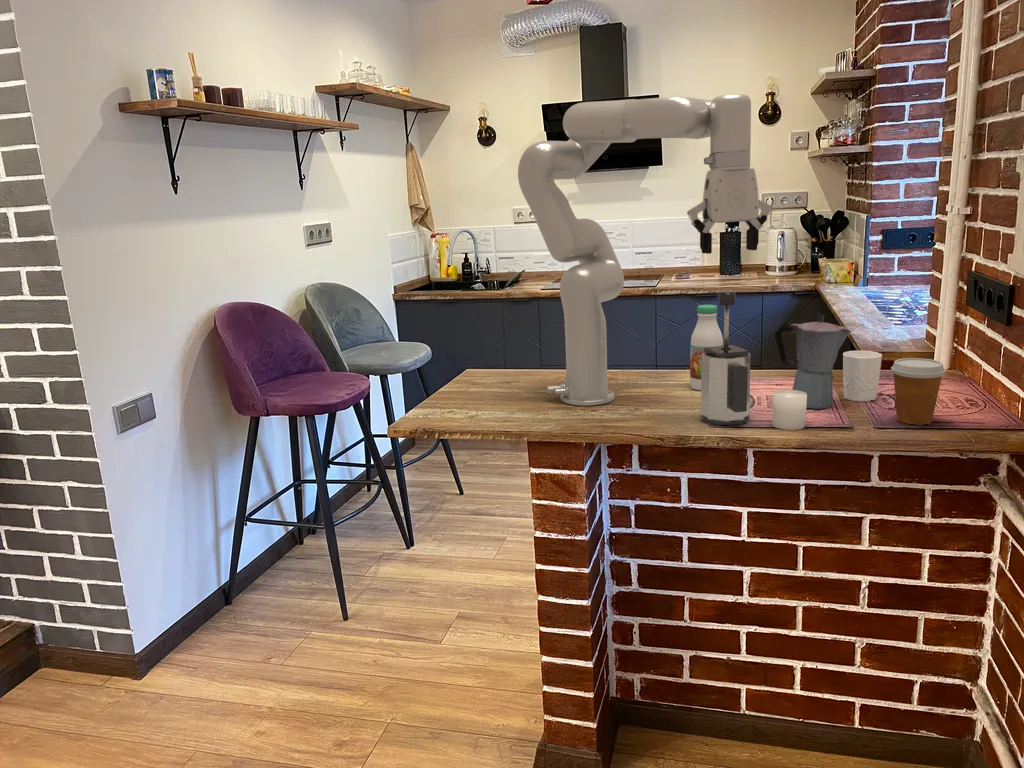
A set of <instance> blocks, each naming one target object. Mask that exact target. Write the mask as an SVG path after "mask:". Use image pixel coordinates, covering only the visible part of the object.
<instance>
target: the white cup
mask: <svg viewBox="0 0 1024 768" xmlns="http://www.w3.org/2000/svg"><path fill="white" fill-rule="evenodd" d="M882 359H883V354H882V353H879V352H876V351H872V350H871V351H870V350H849V351H844V352H843V353H842V385H843V398H844V399H846V400H849V401H854V402H872V401H871V400H873V401H875V400H877V394H878V388H879V383H880V376H881V367H882Z"/></svg>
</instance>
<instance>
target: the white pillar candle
mask: <svg viewBox="0 0 1024 768" xmlns="http://www.w3.org/2000/svg"><path fill="white" fill-rule="evenodd" d="M772 394H773V395H772V418H771V419H772V420H771V421H772V422H771V425H772V427H774V428H777V429H780V430H785V431H786V430H788V431H792V430H793V431H795V430H796V431H797V430H802V429H804V427H805V426H806V425H807V408H806V406H807V393H805V392H803V391H798V390H792V389H779V390H778V389H777V390H775V391H773V393H772ZM805 428H806V427H805Z"/></svg>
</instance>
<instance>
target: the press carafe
mask: <svg viewBox="0 0 1024 768" xmlns="http://www.w3.org/2000/svg"><path fill="white" fill-rule="evenodd" d="M704 352H705V353H703V354H702V367H701V390H700V391H701V393H700V395H701V397H700V420H702V421H701V422H703V423H704V422H706V423H705V424H707V423H710V424H709V425H711V424H715V425H714V426H716V425H738V426H740V425H739V424H743V423H746V422H748V421H749V422H750V394H751V393H750V392H751V391H750V389H751V388H750V387H751V355H752V354H751V353H750V352H749V350H747V349H744V348H742V347H739V346H736V345H735V344H730V345H729V344H728V350H724V345H723V346H715V347H704ZM709 355H712V356H714V357H710V356H709ZM740 356H743V357H740ZM729 357H736V358H729ZM749 422H748V423H749ZM746 424H747V423H746ZM743 425H744V424H743Z"/></svg>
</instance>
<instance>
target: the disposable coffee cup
mask: <svg viewBox="0 0 1024 768" xmlns="http://www.w3.org/2000/svg"><path fill="white" fill-rule="evenodd" d="M890 369H891V370H892V373H893V382H894V383H893V384H894V399H895V412H896V413H895V414H896V421H897V420H898V421H897V422H899V421H900V422H899V423H901V422H903V423H902V424H904V423H908V424H907V425H909V424H928V425H931V424H932V422H933V419H934V413H935V408H936V404H937V400H938V395H939V390H940V387H941V384H942V383H941V381H942V378H943V376H944V374H945V373H946V368H944V363H943V362H942V361H939V360H937V359H936V360H935V359H930V358H922V357H921V358H920V357H919V358H918V357H909V358H908V357H907V358H905V357H904V358H899V359H896V360H894V362H893V365H892V366H891V367H890Z"/></svg>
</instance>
